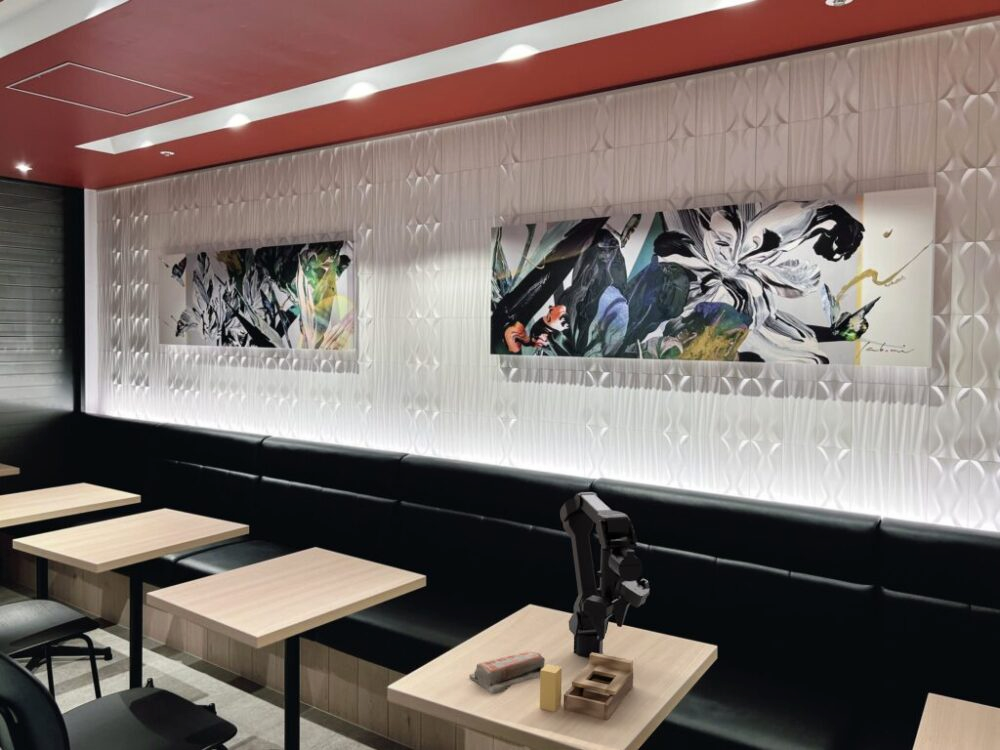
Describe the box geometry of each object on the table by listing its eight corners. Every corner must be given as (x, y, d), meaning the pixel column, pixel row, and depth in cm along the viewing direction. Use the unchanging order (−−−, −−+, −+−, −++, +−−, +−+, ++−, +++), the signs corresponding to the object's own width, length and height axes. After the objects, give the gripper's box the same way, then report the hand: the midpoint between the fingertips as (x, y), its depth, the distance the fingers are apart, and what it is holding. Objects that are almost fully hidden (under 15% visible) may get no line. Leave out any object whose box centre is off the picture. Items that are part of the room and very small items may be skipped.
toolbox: (563, 712, 170) (563, 694, 170) (591, 680, 186) (592, 664, 186) (607, 723, 166) (607, 705, 166) (632, 689, 182) (633, 672, 182)
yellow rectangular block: (539, 711, 171) (540, 670, 170) (546, 704, 174) (546, 664, 174) (554, 715, 169) (555, 673, 169) (560, 708, 173) (561, 667, 172)
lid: (571, 685, 174) (572, 672, 174) (591, 663, 186) (592, 651, 186) (615, 695, 170) (615, 682, 170) (633, 672, 182) (633, 660, 181)
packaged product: (492, 675, 179) (469, 659, 187) (492, 695, 179) (468, 679, 187) (554, 657, 189) (529, 643, 197) (554, 676, 189) (529, 662, 197)
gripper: (626, 585, 172) (624, 654, 173) (661, 564, 187) (658, 628, 188) (581, 575, 178) (580, 642, 179) (618, 555, 194) (616, 617, 195)
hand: (610, 632), depth 185 cm, fingers open, 9 cm apart
